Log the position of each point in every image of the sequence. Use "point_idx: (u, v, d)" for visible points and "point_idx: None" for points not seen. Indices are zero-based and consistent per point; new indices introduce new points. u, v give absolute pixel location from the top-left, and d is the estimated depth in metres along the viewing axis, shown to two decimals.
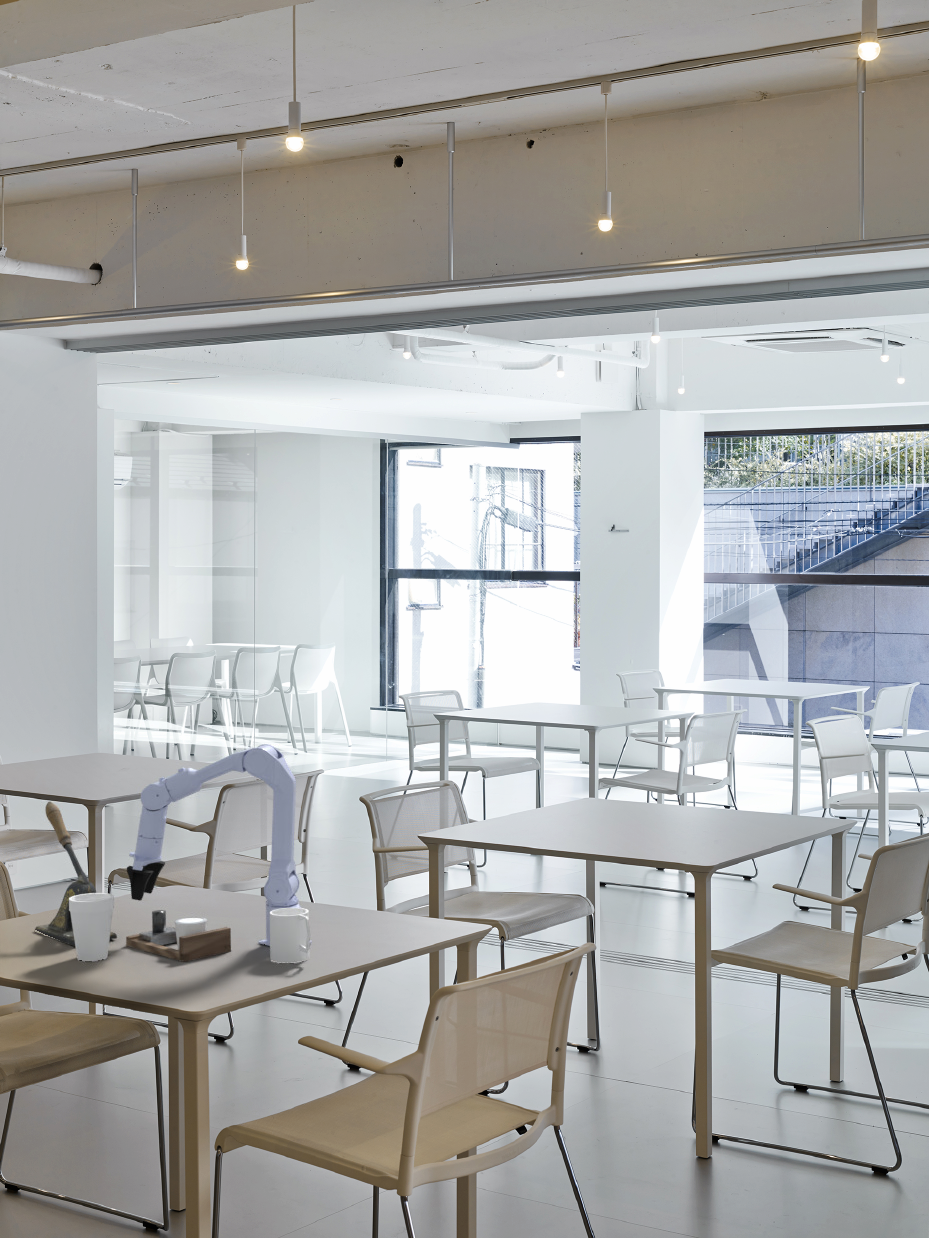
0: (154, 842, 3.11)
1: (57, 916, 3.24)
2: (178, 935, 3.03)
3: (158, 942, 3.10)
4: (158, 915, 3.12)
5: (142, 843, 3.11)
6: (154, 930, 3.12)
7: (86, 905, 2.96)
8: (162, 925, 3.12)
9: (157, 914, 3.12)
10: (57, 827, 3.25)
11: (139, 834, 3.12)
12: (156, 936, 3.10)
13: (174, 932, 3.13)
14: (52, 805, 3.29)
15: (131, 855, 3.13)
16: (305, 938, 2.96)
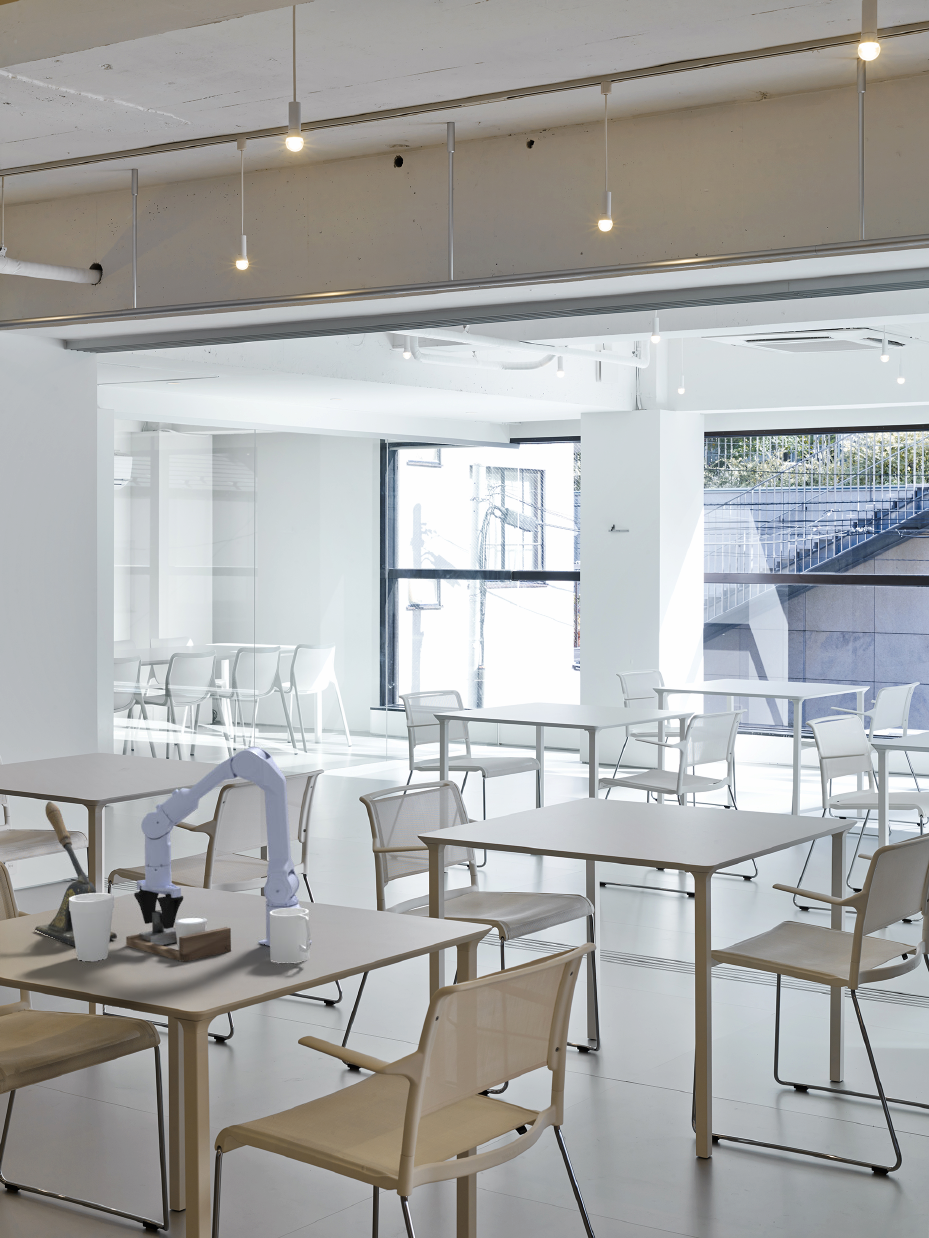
0: (170, 868, 3.13)
1: (57, 916, 3.24)
2: (178, 935, 3.03)
3: (158, 942, 3.10)
4: (158, 915, 3.12)
5: (162, 872, 3.11)
6: (154, 930, 3.12)
7: (86, 905, 2.96)
8: (162, 925, 3.12)
9: (157, 914, 3.12)
10: (57, 827, 3.25)
11: (146, 864, 3.12)
12: (156, 936, 3.10)
13: (174, 932, 3.13)
14: (52, 805, 3.29)
15: (148, 888, 3.10)
16: (305, 938, 2.96)
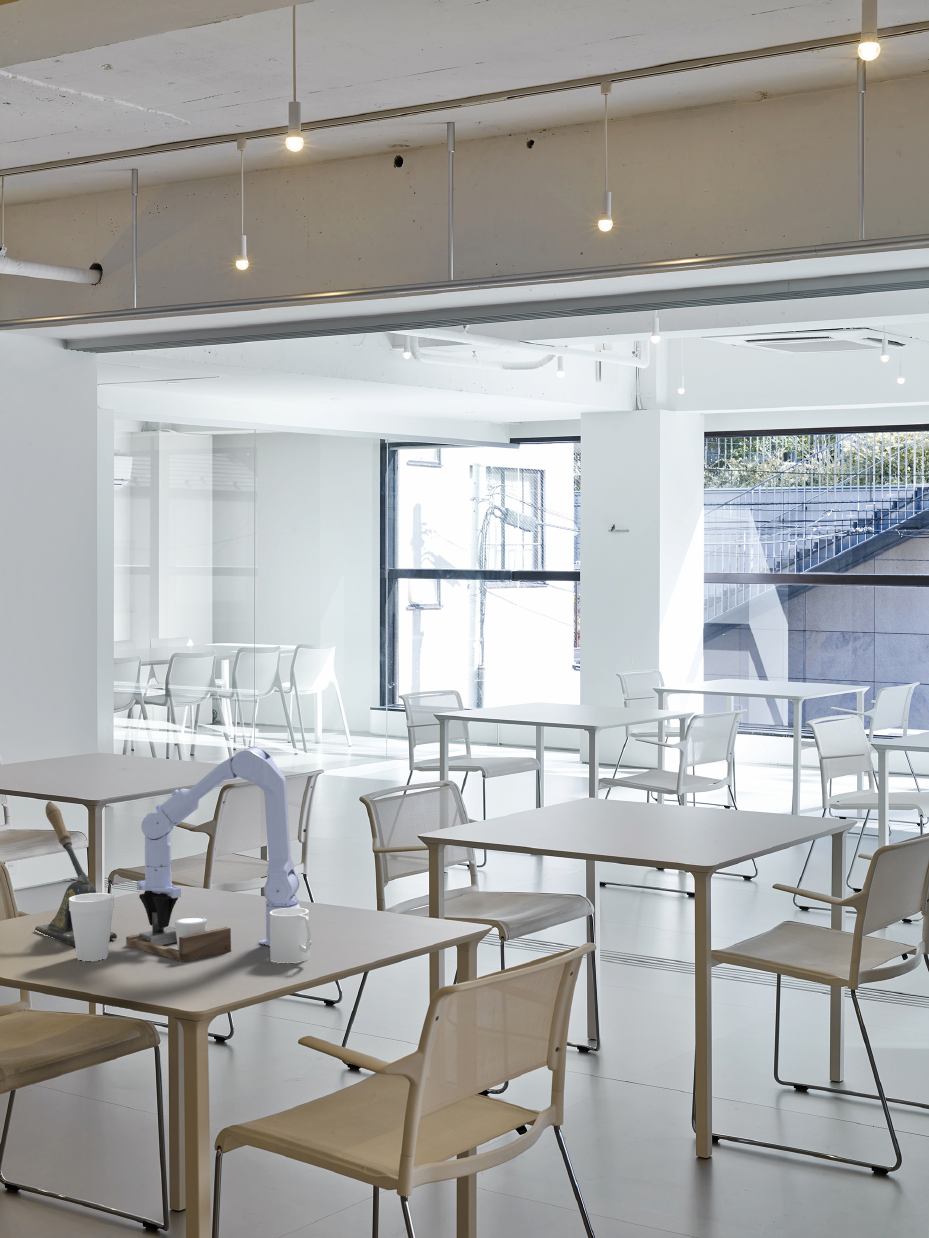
0: (170, 868, 3.13)
1: (57, 916, 3.24)
2: (178, 935, 3.03)
3: (158, 942, 3.10)
4: None
5: (162, 873, 3.11)
6: (154, 930, 3.12)
7: (86, 905, 2.96)
8: None
9: None
10: (57, 827, 3.25)
11: (146, 865, 3.12)
12: (156, 936, 3.10)
13: (174, 932, 3.13)
14: (52, 805, 3.29)
15: (148, 889, 3.10)
16: (305, 938, 2.96)
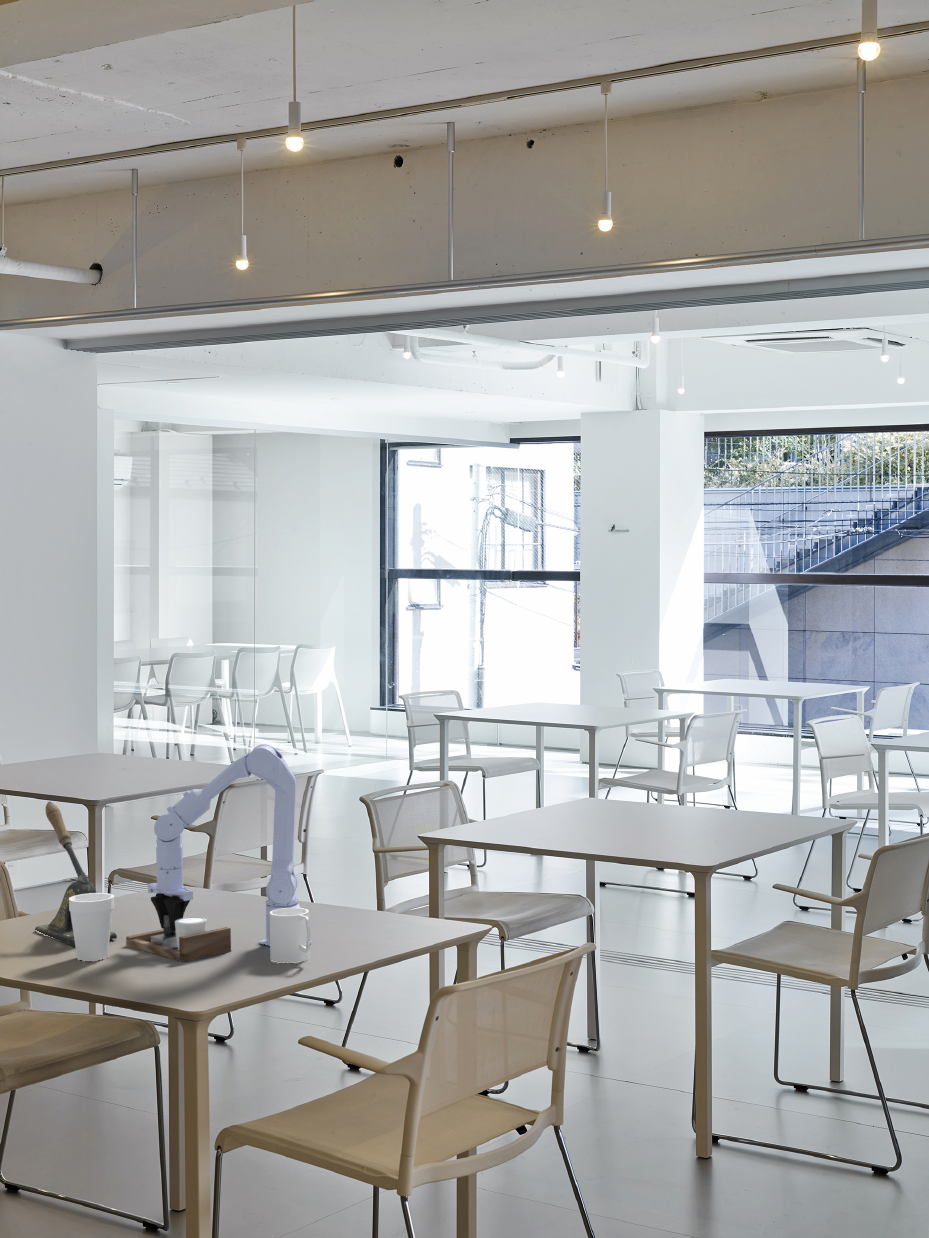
0: (182, 871, 3.10)
1: (57, 916, 3.24)
2: (178, 935, 3.03)
3: (169, 945, 3.07)
4: None
5: (174, 875, 3.08)
6: (166, 933, 3.09)
7: (86, 905, 2.96)
8: None
9: None
10: (57, 827, 3.25)
11: (158, 867, 3.08)
12: (168, 939, 3.06)
13: None
14: (52, 805, 3.29)
15: (159, 891, 3.07)
16: (305, 938, 2.96)
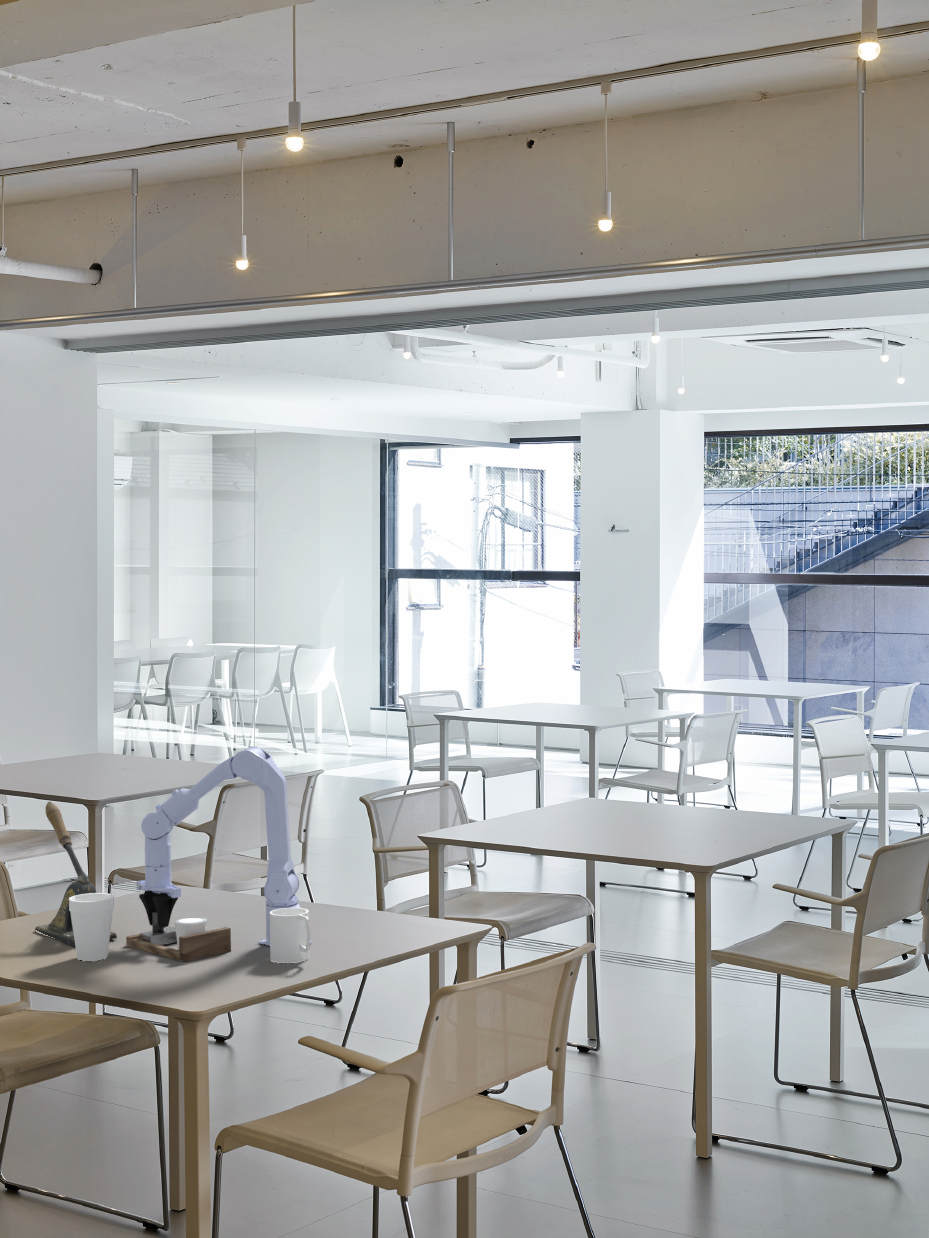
0: (170, 868, 3.13)
1: (57, 916, 3.24)
2: (178, 935, 3.03)
3: (158, 942, 3.10)
4: None
5: (162, 873, 3.11)
6: (154, 930, 3.12)
7: (86, 905, 2.96)
8: None
9: None
10: (57, 827, 3.25)
11: (146, 864, 3.12)
12: (156, 936, 3.10)
13: (174, 932, 3.13)
14: (52, 805, 3.29)
15: (148, 889, 3.10)
16: (305, 938, 2.96)
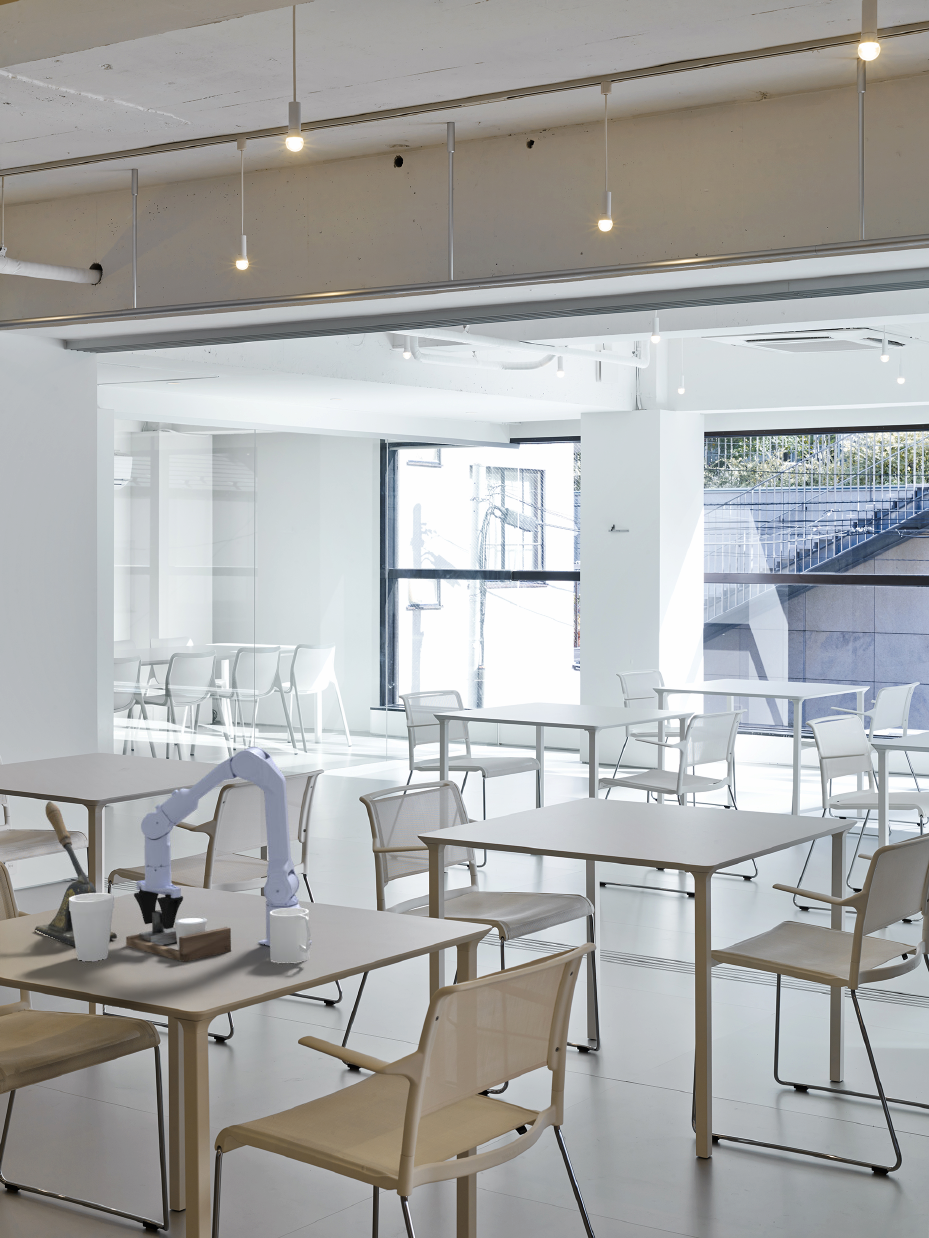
0: (170, 868, 3.13)
1: (57, 916, 3.24)
2: (178, 935, 3.03)
3: (158, 942, 3.10)
4: (158, 915, 3.12)
5: (162, 873, 3.11)
6: (154, 930, 3.12)
7: (86, 905, 2.96)
8: (162, 925, 3.12)
9: (157, 914, 3.12)
10: (57, 827, 3.25)
11: (146, 865, 3.12)
12: (156, 936, 3.10)
13: (174, 932, 3.13)
14: (52, 805, 3.29)
15: (147, 889, 3.10)
16: (305, 938, 2.96)
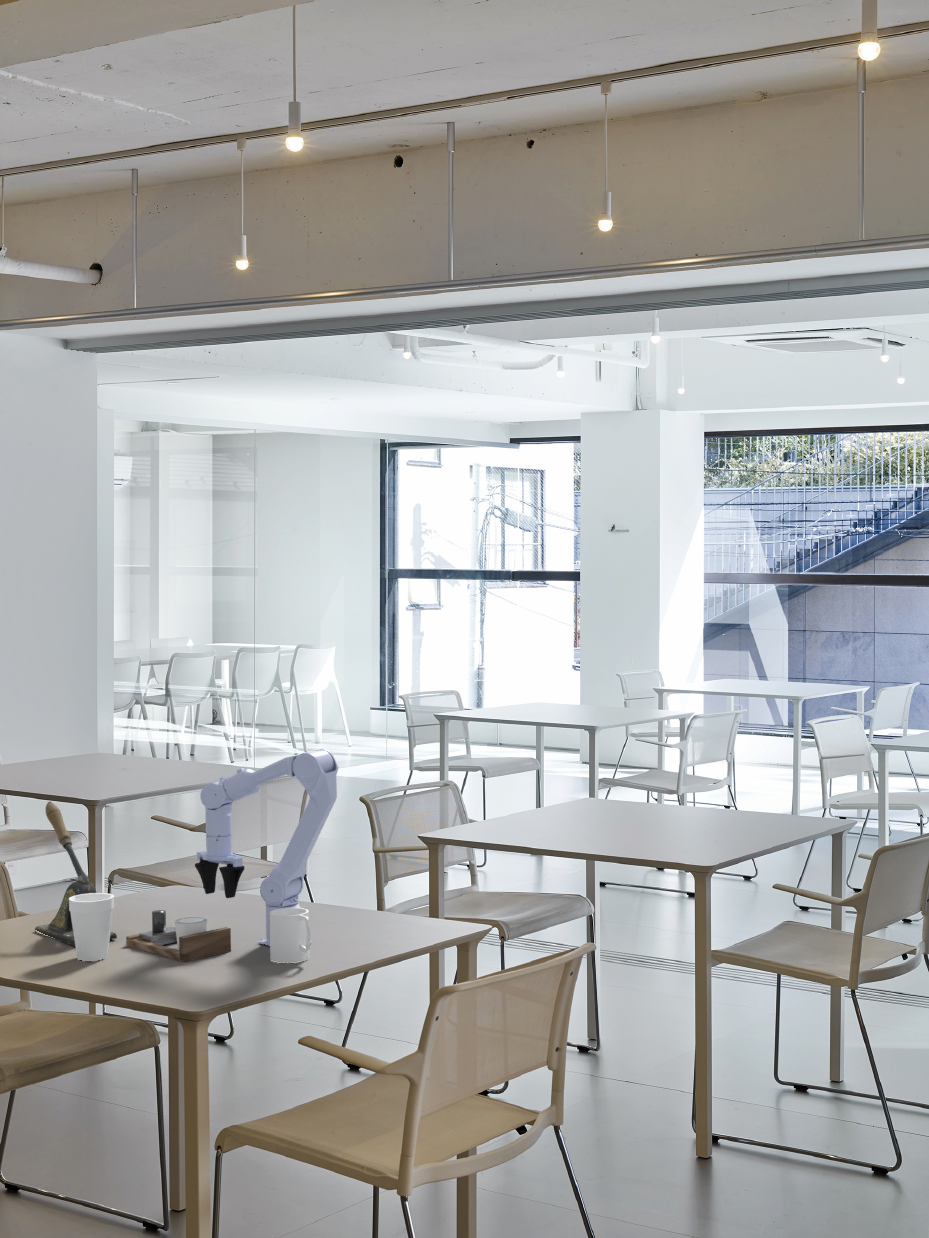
0: (231, 838, 3.16)
1: (57, 916, 3.24)
2: (178, 935, 3.03)
3: (158, 942, 3.10)
4: (158, 915, 3.12)
5: (223, 843, 3.14)
6: (154, 930, 3.12)
7: (86, 905, 2.96)
8: (162, 925, 3.12)
9: (157, 914, 3.12)
10: (57, 827, 3.25)
11: (206, 834, 3.16)
12: (156, 936, 3.10)
13: (174, 932, 3.13)
14: (52, 805, 3.29)
15: (209, 858, 3.14)
16: (305, 938, 2.96)
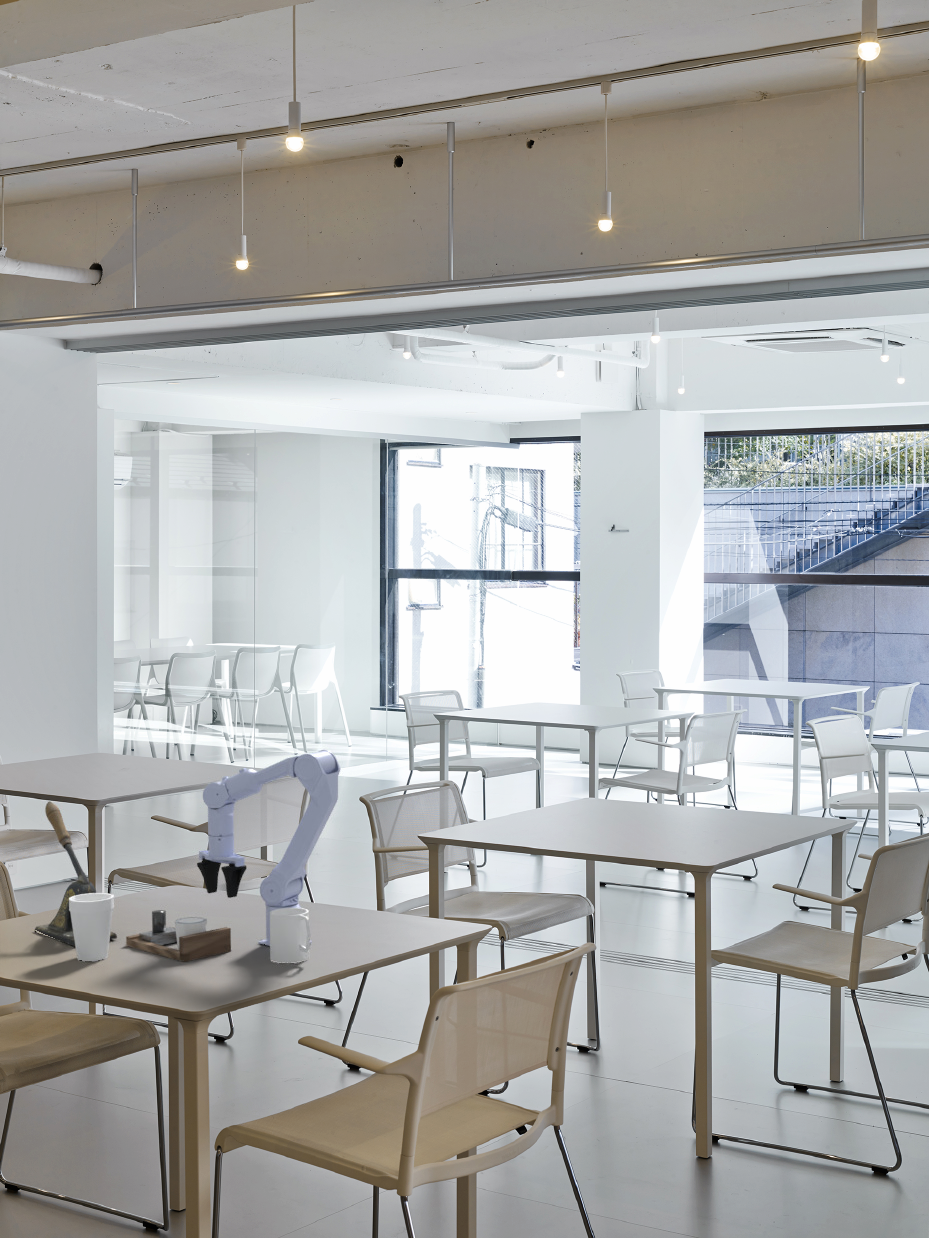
0: (233, 838, 3.17)
1: (57, 916, 3.24)
2: (178, 935, 3.03)
3: (158, 942, 3.10)
4: (158, 915, 3.12)
5: (225, 842, 3.15)
6: (154, 930, 3.12)
7: (86, 905, 2.96)
8: (162, 925, 3.12)
9: (157, 914, 3.12)
10: (57, 827, 3.25)
11: (208, 834, 3.16)
12: (156, 936, 3.10)
13: (174, 932, 3.13)
14: (52, 805, 3.29)
15: (211, 858, 3.14)
16: (305, 938, 2.96)
